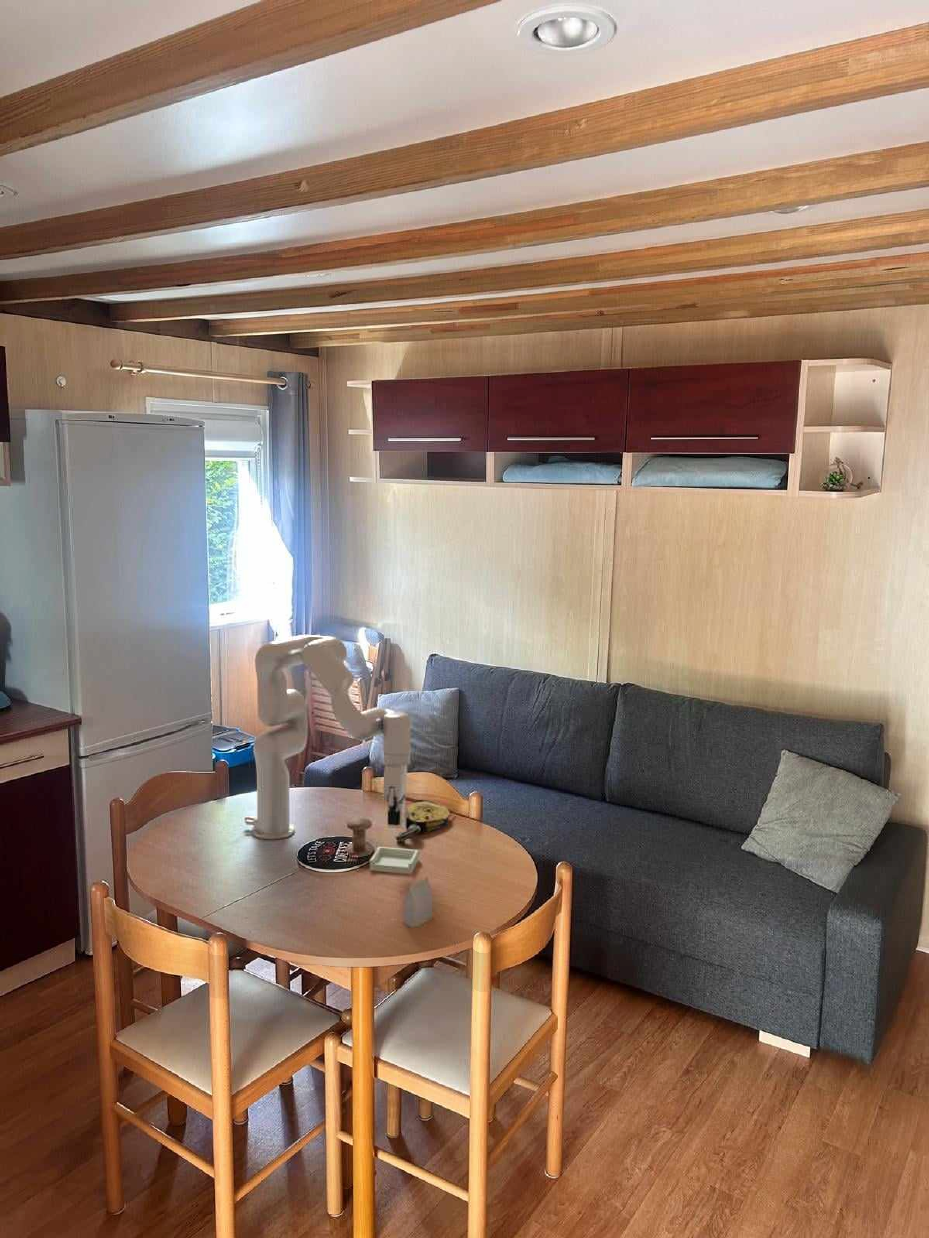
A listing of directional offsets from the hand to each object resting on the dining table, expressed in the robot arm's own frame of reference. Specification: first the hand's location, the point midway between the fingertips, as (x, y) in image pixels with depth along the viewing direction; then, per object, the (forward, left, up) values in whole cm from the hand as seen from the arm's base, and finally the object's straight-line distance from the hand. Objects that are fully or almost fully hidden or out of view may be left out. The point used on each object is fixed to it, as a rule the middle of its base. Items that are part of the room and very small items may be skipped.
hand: (395, 820), depth 261 cm
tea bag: (+13, -30, -13) cm, 36 cm away
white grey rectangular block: (0, 0, -1) cm, 1 cm away
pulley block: (+1, +29, -13) cm, 32 cm away
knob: (-12, +7, -13) cm, 19 cm away
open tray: (0, 0, -13) cm, 13 cm away
